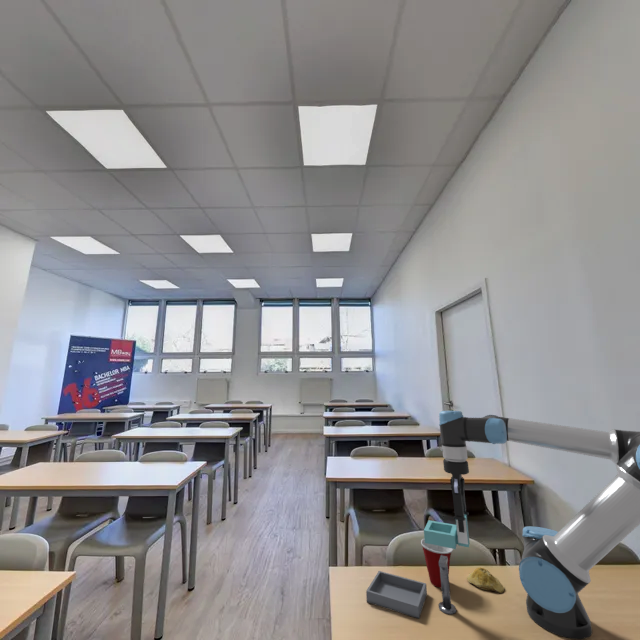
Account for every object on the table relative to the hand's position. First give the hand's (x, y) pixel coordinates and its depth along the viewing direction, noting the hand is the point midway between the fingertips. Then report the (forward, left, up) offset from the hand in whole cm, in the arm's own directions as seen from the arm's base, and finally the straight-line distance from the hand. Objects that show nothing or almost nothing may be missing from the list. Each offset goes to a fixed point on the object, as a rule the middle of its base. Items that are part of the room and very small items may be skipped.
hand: (463, 540), depth 96 cm
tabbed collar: (+5, 0, -1) cm, 5 cm away
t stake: (+7, 0, -20) cm, 21 cm away
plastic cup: (+11, -13, -20) cm, 26 cm away
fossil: (-4, -20, -20) cm, 29 cm away
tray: (+22, +2, -20) cm, 29 cm away
